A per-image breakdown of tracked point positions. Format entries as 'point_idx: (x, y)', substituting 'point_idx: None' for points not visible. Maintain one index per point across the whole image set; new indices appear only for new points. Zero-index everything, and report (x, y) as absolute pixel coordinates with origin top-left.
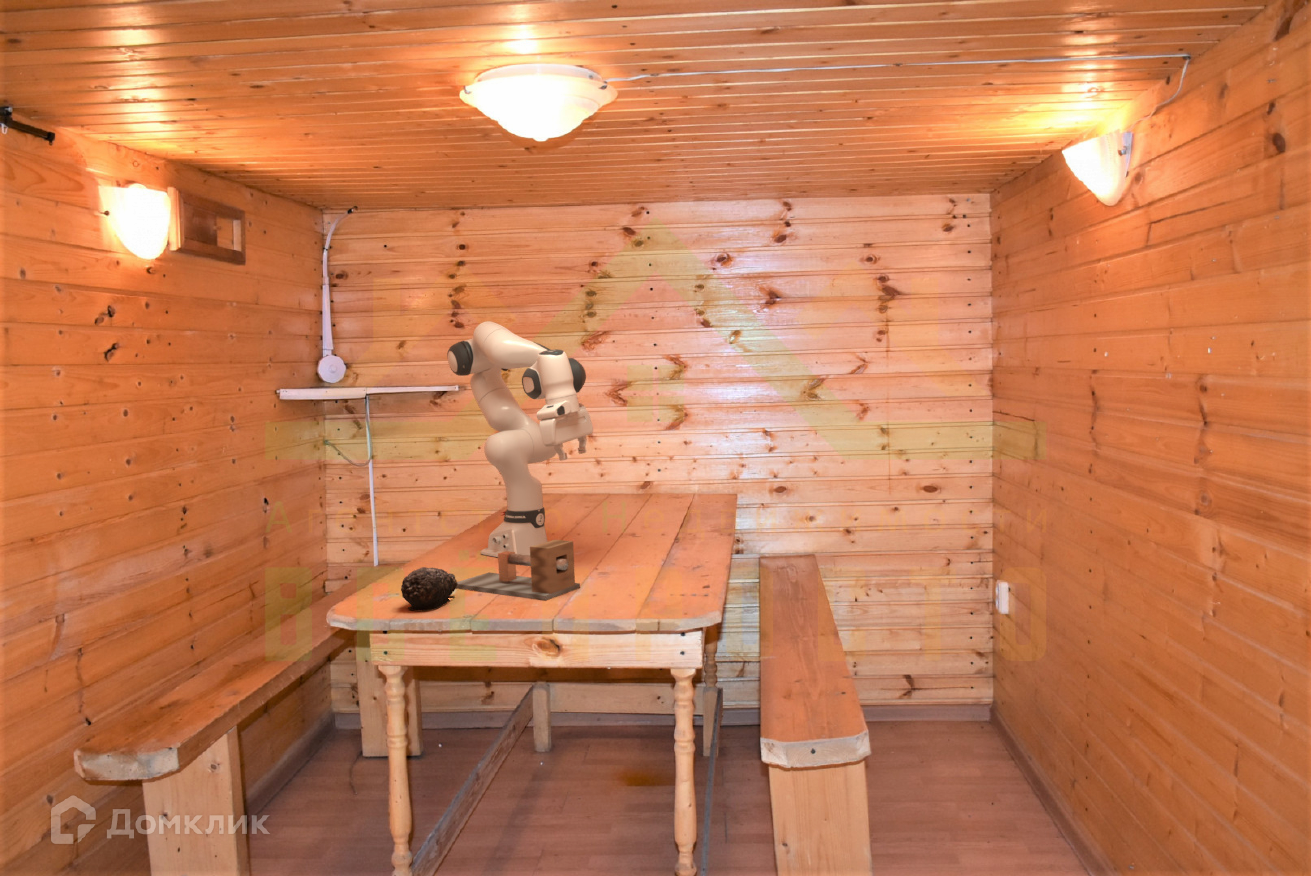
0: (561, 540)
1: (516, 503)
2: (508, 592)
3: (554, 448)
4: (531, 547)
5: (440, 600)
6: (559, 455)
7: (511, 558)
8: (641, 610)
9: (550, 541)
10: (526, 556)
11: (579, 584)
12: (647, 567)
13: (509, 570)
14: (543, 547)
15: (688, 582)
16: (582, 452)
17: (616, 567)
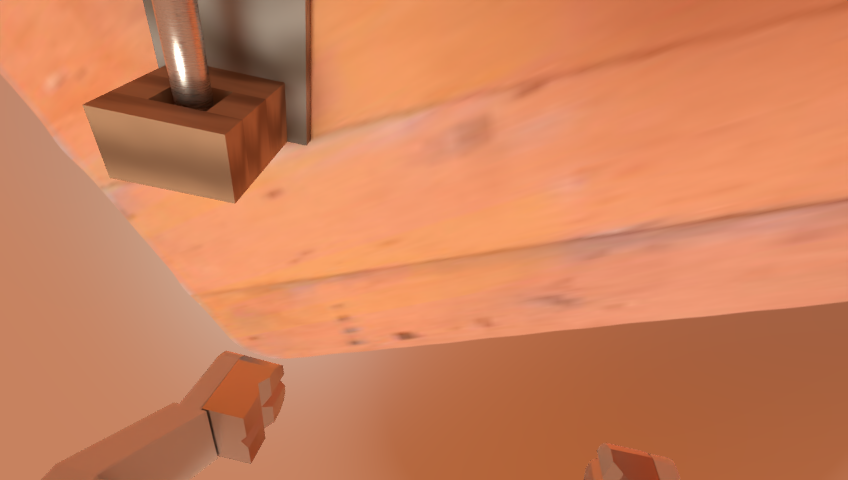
0: (226, 163)
1: None
2: None
3: (48, 477)
4: (87, 111)
5: None
6: (193, 398)
7: None
8: (233, 291)
9: (192, 133)
10: (159, 27)
11: (306, 143)
12: (553, 215)
13: None
14: (109, 156)
15: (427, 310)
16: (587, 478)
17: (551, 141)
